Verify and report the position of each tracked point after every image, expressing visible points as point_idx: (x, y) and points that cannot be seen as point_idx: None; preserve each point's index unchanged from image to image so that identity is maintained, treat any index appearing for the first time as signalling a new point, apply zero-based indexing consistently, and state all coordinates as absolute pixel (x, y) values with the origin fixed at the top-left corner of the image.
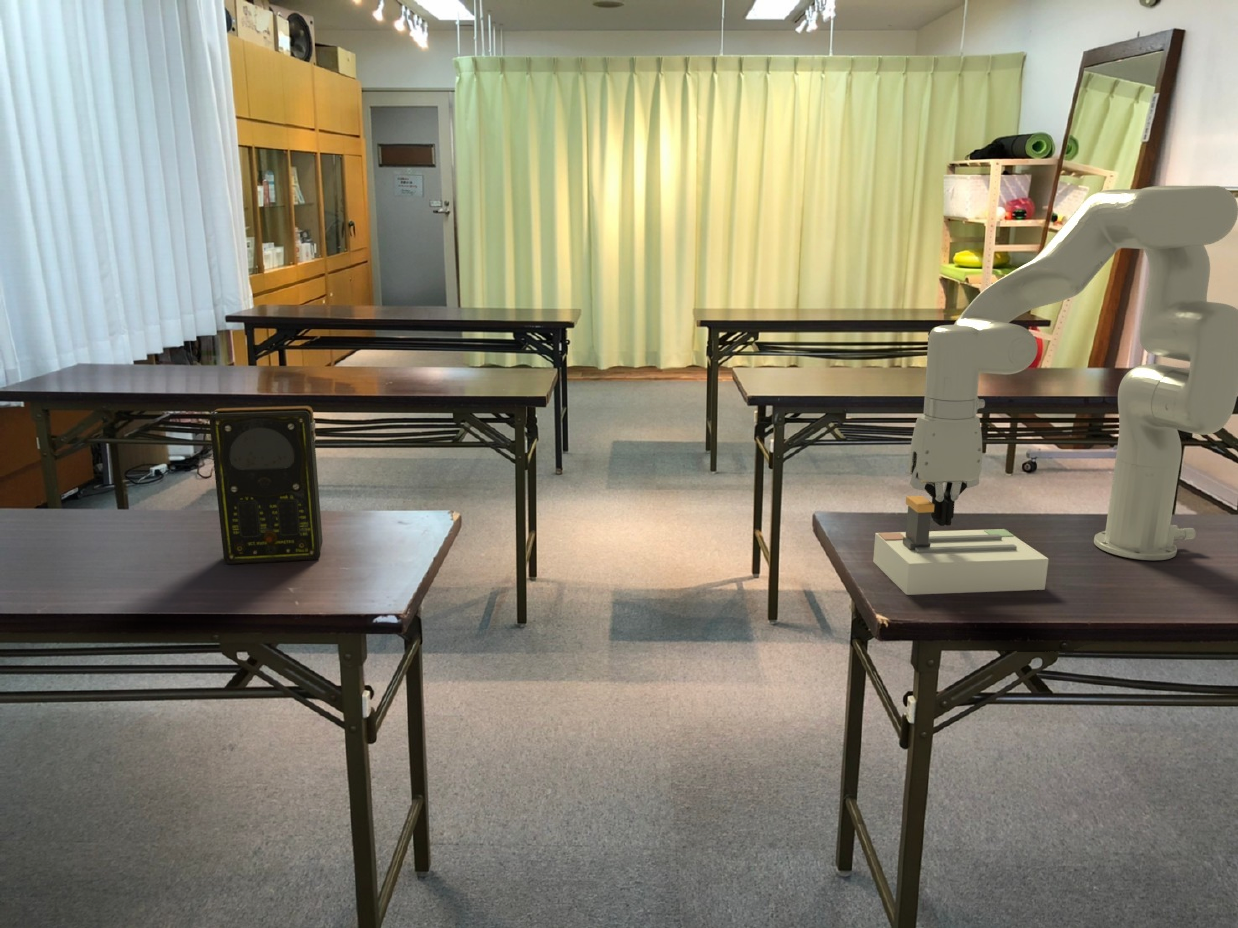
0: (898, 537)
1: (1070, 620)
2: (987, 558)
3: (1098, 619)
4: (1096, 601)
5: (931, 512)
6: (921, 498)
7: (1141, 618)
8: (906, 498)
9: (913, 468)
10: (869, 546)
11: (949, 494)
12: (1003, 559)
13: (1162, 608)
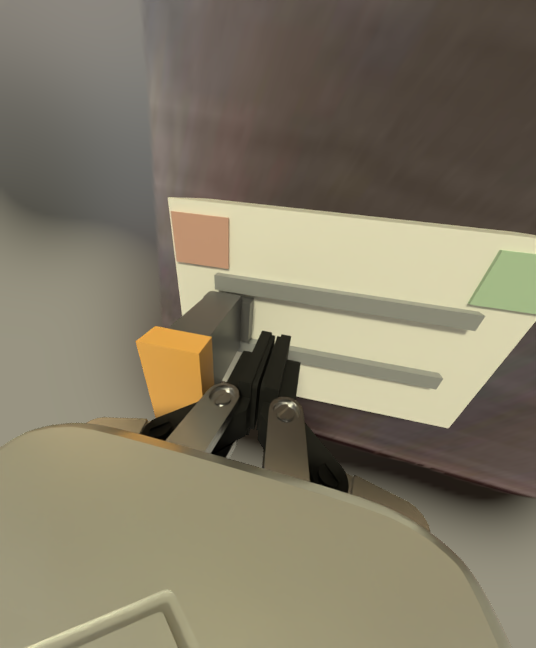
0: (211, 255)
1: (363, 443)
2: (333, 395)
3: (398, 451)
4: (453, 426)
5: (240, 357)
6: (185, 375)
7: (452, 465)
8: (141, 339)
9: (18, 456)
10: (229, 62)
11: (264, 447)
12: (359, 406)
13: (517, 462)
